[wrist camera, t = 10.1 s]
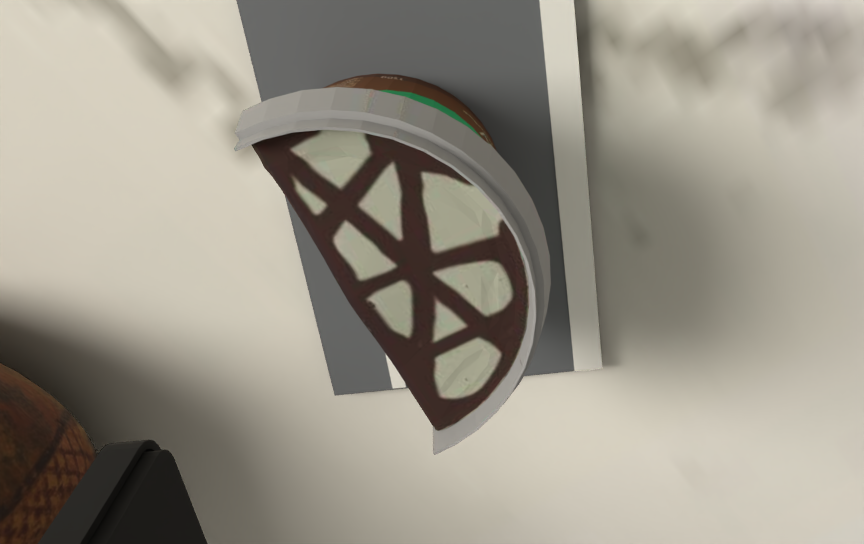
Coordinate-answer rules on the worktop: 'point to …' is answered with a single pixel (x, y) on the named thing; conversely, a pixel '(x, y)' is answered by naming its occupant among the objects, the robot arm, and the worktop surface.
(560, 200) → the mat
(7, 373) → the jug
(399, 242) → the food container
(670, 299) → the worktop surface
